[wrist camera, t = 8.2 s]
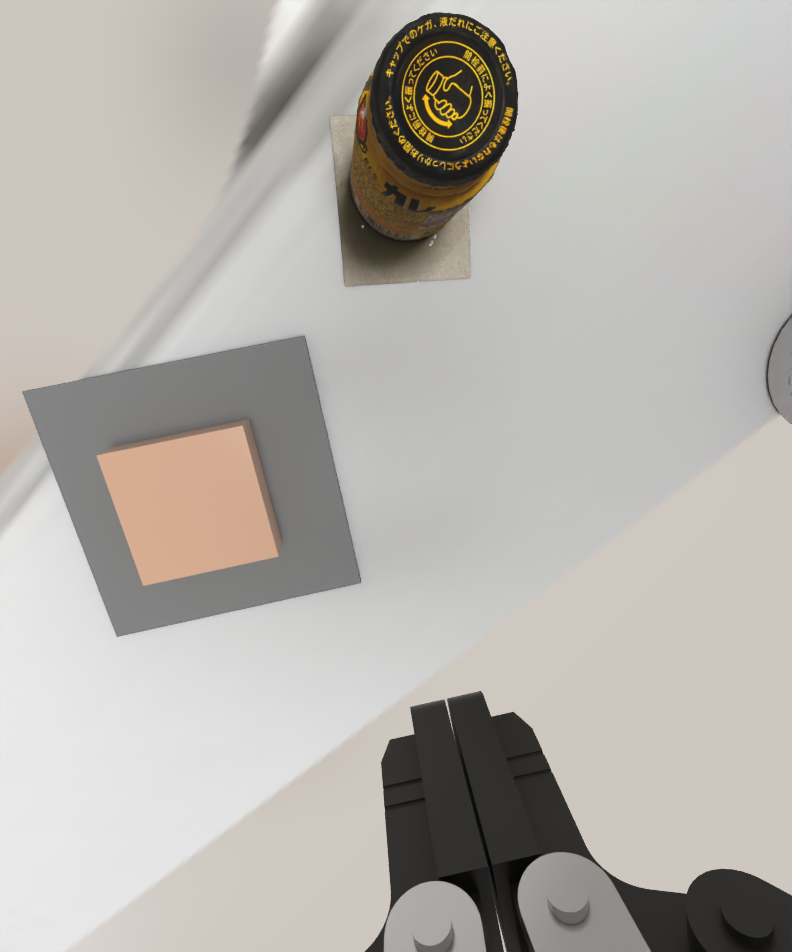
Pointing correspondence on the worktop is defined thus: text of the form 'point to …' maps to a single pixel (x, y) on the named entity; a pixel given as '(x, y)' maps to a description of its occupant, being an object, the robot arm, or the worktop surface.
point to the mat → (185, 409)
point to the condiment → (422, 150)
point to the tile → (192, 501)
